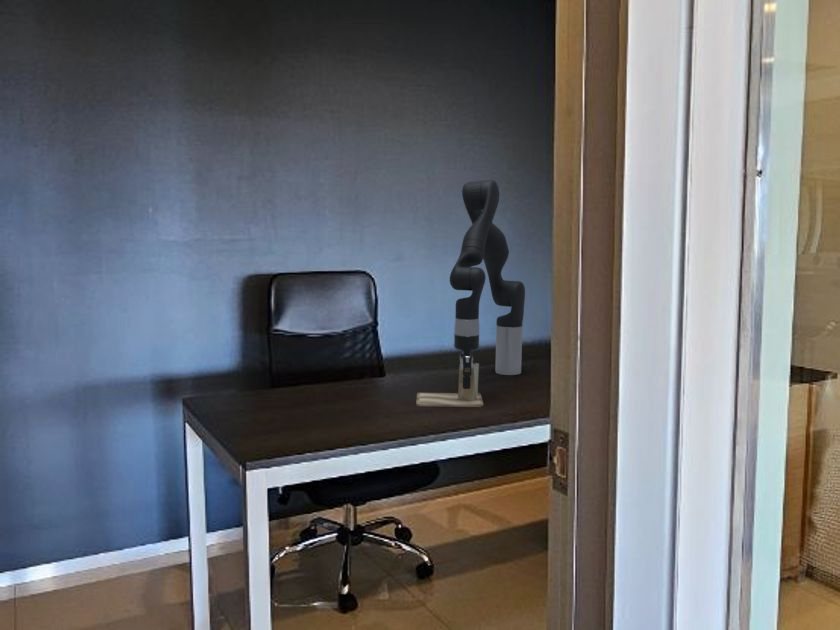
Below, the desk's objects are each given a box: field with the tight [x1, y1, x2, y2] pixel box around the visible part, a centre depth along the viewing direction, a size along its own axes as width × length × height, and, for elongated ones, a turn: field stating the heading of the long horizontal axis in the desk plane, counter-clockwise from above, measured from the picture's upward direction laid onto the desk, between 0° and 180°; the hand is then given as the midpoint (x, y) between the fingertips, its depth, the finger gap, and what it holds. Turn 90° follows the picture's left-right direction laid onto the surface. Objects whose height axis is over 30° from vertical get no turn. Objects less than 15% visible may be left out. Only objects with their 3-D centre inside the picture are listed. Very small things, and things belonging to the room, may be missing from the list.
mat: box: [415, 392, 484, 408], centre depth 226 cm, size 14×20×1 cm
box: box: [457, 362, 480, 401], centre depth 225 cm, size 5×4×11 cm
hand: (465, 385), depth 225 cm, fingers open, 8 cm apart
